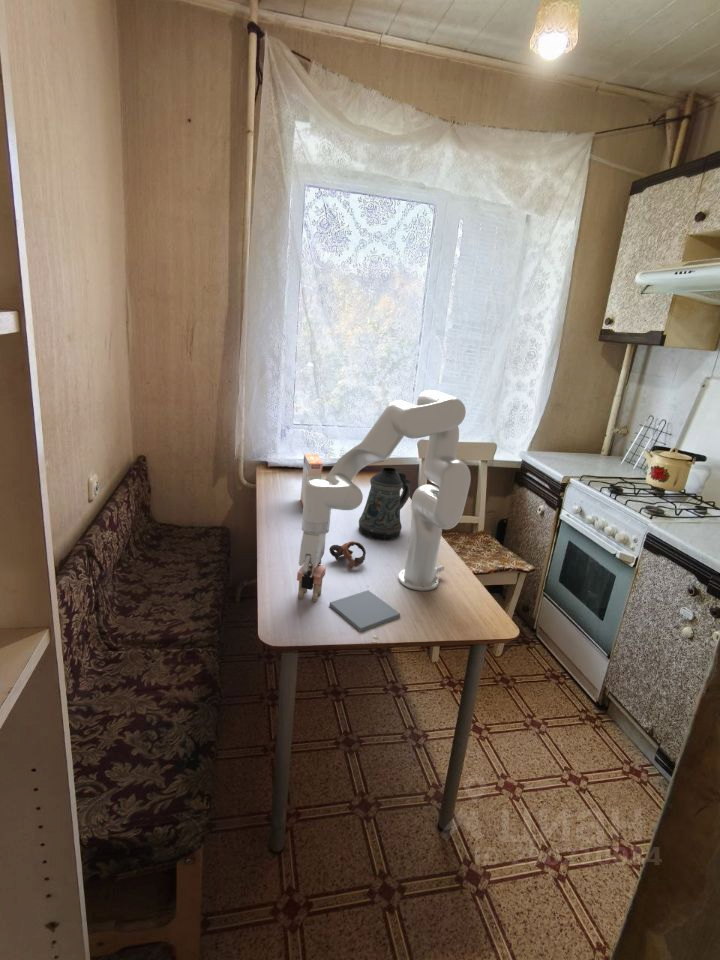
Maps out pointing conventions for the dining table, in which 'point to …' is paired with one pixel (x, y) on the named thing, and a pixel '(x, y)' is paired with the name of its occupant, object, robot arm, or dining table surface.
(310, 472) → the cracker box
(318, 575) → the stool
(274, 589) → the dining table surface
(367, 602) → the slate mat
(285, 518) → the dining table surface
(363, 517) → the beer stein
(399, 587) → the dining table surface
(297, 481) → the dining table surface
